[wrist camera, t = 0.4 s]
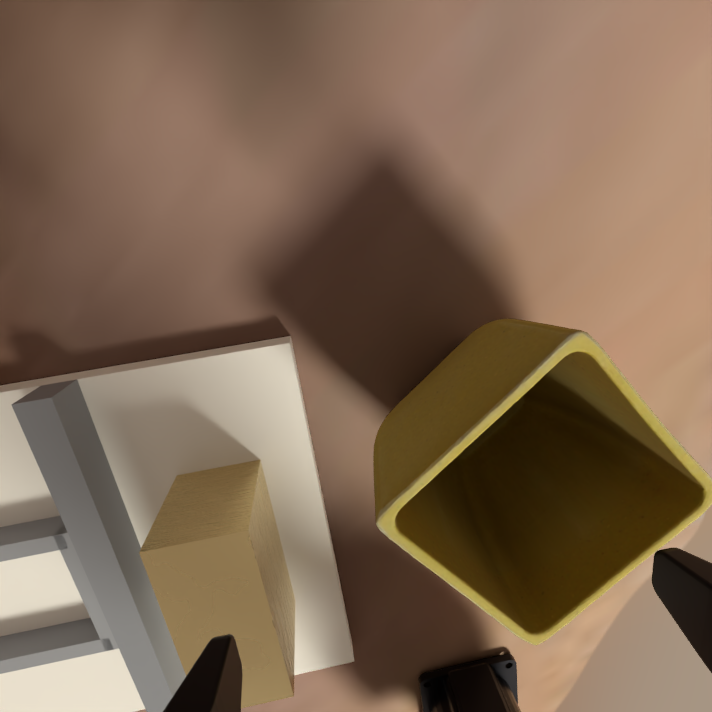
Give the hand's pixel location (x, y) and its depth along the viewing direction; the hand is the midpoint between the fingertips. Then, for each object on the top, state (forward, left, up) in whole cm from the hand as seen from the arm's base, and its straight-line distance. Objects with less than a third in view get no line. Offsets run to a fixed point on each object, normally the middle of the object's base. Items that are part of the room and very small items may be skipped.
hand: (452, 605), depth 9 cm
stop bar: (-7, +8, -12) cm, 16 cm away
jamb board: (-7, +15, -13) cm, 21 cm away
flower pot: (-2, -5, -14) cm, 14 cm away
